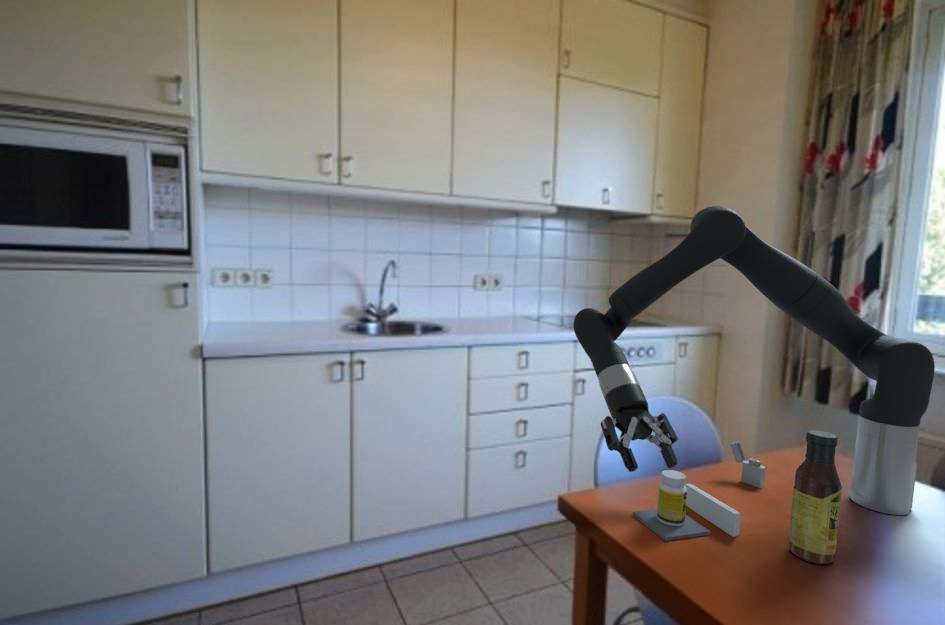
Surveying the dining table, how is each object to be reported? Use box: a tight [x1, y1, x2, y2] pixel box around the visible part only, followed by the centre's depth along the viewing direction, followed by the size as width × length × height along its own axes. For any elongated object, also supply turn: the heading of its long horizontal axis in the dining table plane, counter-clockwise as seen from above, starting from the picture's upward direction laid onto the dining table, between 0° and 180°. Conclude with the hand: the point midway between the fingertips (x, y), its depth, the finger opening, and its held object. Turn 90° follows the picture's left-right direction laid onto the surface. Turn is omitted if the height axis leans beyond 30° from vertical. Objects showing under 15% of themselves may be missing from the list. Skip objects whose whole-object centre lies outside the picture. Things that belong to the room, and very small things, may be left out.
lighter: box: [729, 441, 767, 489], centre depth 108 cm, size 7×2×8 cm, turn 36°
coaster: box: [632, 508, 711, 542], centre depth 88 cm, size 9×9×1 cm
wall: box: [685, 483, 741, 538], centre depth 91 cm, size 1×12×4 cm, turn 17°
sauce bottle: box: [788, 429, 843, 565], centre depth 79 cm, size 7×6×20 cm
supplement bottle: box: [656, 469, 687, 526], centre depth 88 cm, size 5×5×8 cm
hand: (653, 468), depth 92 cm, fingers open, 8 cm apart
